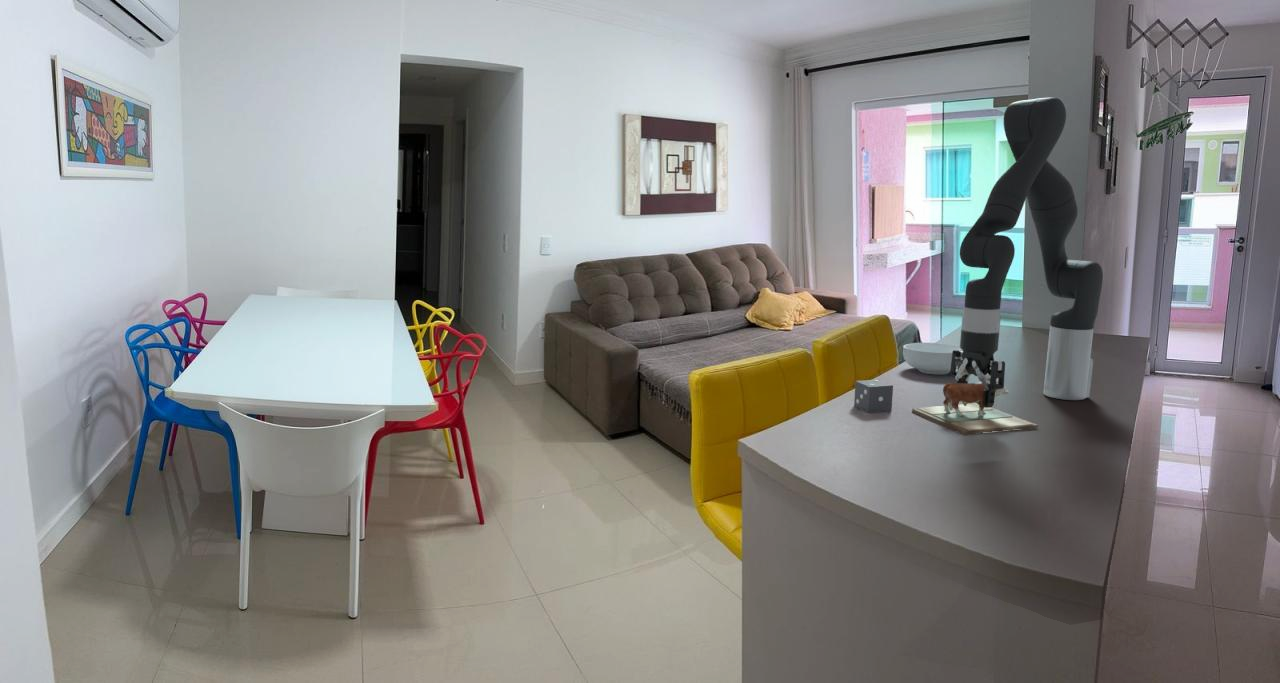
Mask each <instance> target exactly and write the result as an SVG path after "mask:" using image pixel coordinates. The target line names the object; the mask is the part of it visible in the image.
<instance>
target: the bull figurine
mask: <svg viewBox="0 0 1280 683" xmlns="http://www.w3.org/2000/svg"><path fill="white" fill-rule="evenodd" d="M997 383H998V379H996V384H997ZM988 384H990V382H989V381H988ZM983 390H985V389H984V387H983V384H982V382H981V381H979V382H974V383H972V382H971V383H970V382H968V383H957V382H947V383H946V384H945V385H943V388H942V391H943V392H942V393H943V395H944V398H945V399H944V400H943V406H944V408H945V409H944V411H946V413H950V411H949V409H950V410H951V411H952V409H953V408H954V409H955V411H956V415H959V416H960V417H963V414H962V413H961V412H960V410H959V407H958V405H960V402H961V403H962V404H963V405H964V406H967V404H973V403H977V404H978V405H979V411H978V415H979V416H980V417H983V414H986V413H985V411H984V407H983V406H982V402H983ZM1008 394H1009V390H1008V389H1007V387H1006V385H1005V384H1004V388H1003V389H997V390H996V391H995V397H999V396H1001V395H1006V396H1007V395H1008ZM948 407H949V408H948Z"/></svg>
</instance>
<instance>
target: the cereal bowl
mask: <svg viewBox="0 0 1280 683" xmlns="http://www.w3.org/2000/svg"><path fill="white" fill-rule="evenodd" d="M953 350H962V349H961V348H960V345H958V344H957V345H956V344H952V343H944V342H943V343H942V342H941V343H940V342H912V343H906V344H904V345H903V346H902V355H903V358H904V361H905V362H906V364H908V366H910V367H912V368H914V369H917V370H918V371H919V372H920V373H922V374H928V375H937V376H939V375H948V374H950V370H951V361H952V352H953ZM956 370H958V366H956Z"/></svg>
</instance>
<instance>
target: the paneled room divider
mask: <svg viewBox="0 0 1280 683" xmlns="http://www.w3.org/2000/svg"><path fill="white" fill-rule="evenodd" d="M958 407H959V410H960V412H961V413H962V414H963V417H960V416H959V415H956V411H955V409H954V408H953V409H952V411H951V410H950V409H949V411H950V413H946V411H944V409H945V408H944V405H936V406H934V405H933V406H924V407H923V406H922V407H916V408H912V409H911V412H912V413H913V414H916V415H918V416H920V417H922V418H924V419H927V420H929V421H931V422H933V423H936V424H938V425H941V426H943V427H944V428H946V429H949V430H952V431H954V432H957V433H959V434H961V435H963V434H964V435H963V436H970V435H969V434H973V435H977V434H976V433H983V432H992V431H1003V430H1013V429H1028V430H1032V429H1031V428H1039V424H1037V423H1034V422H1031V421H1028V420H1025V419H1023V418H1020V417H1017V416H1015V415H1012V414H1010V413H1006V412H1004V411H1001V410H999V409H996V408H994V407H988V408H985V407H984V411H985V413H986V414H983V417H980V416H979V415H978V411H979V405H978V404H977V403H968V404H967V406H964V405H963V403H962V404H960V403H959V404H958ZM948 408H949V407H948Z"/></svg>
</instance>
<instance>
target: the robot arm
mask: <svg viewBox="0 0 1280 683" xmlns="http://www.w3.org/2000/svg"><path fill="white" fill-rule="evenodd" d="M1066 121H1067V110H1066V106H1065V104H1064V102H1063V101H1062V100H1061V99H1060V98H1058V97H1053V96H1051V97H1049V96H1048V97H1040V98H1033V99H1024V100H1018V101H1014V102H1012V103H1010V104H1008V106H1007V107H1006V109H1005V110H1004V114H1003V129H1004V133H1005V137H1006V140H1007V143H1008V146H1009V148H1010V150H1011V153H1012V155H1013V157H1014V161H1015V162H1014V163H1013V164H1012V165H1011V166H1010V167H1009V168H1008V169H1007V170H1006V171H1005V172H1004V173H1003V174H1002V175H1001V176H1000V177H999V178H998V180H997V181H996V182H995V184H994V186H993V187H992V188H991V191H990V193H989V196H988V197H987V200H986V204H985V206H984V209H983V211H982V213H981V214H980V216H979V217H978V218H977V220H976V221H975V223H974V224H972V226H971V228H970V229H969V231H968V232H967V233H966V235H965V236H964V237H963V240H962V241H961V244H960V247H959V258H960V261H961V262H962V264H963V265H965V266H966V267H969V268H978V269H979V268H980V269H988V271H987V272H986V274H985V276H984V277H981V278H976V279H970V280H969V281H968V282H967V284H966V286H965V295H964V305H963V306H964V307H963V313H962V317H961V329H960V341H959V346H960V348H961V349H962V350H953V352H952V361H951V370H950V372H949V376H950V377H954V378H955V381H956V383H969V381H968V379H969V378H970V376H971V375H973V376H974V377H977V378H978V381H979V382H982V384H983V387H984V389H985V390H983V402H982V406H983V407H985V408H988V407H991V408H993V406H994V404H995V398H996V396H995V391H996V390H997V389H1003V388H1004V385H1005V376H1006V375H1005V372H1006V371H1005V370H1006V362H1005V361H1004V360H996V359H995V358H994V356H995V355H994V354H995V353H996V352H997V351H998V350H999V342H1000V341H999V339H1000V330H1001V302H1002V291H1003V287H1004V284H1005V282H1006V278H1007V276H1008V274H1009V272H1010V269H1011V266H1012V263H1013V261H1014V257H1015V252H1016V251H1015V250H1016V248H1015V244H1014V242H1013V240H1012V239H1011V238H1010V237H1009V236H1007V235H1003V234H998V233H1001V232H1006V231H1009V230H1012V229H1013V228H1015V226H1016V225H1017V223H1018V220H1019V219H1020V215H1021V212H1022V210H1023V208H1024V204H1025V203H1026V199H1027V203H1028V207H1029V210H1030V213H1031V217H1032V220H1033V224H1034V227H1035V230H1036V234H1037V238H1038V241H1039V247H1040V252H1041V256H1042V264H1043V269H1044V278H1045V281H1046V286H1047V288H1048V291H1049V292H1050V293H1051V295H1052V296H1054V297H1057V298H1062V299H1072V300H1073V299H1074V301H1073V302H1074V303H1073V305H1072V307H1071V308H1069V309H1067V310H1064V311H1059V312H1055V313H1053V314H1052V315H1051V317H1050V325H1049V335H1048V344H1047V353H1046V354H1047V355H1046V364H1045V372H1044V374H1045V375H1044V381H1043V382H1044V383H1043V392H1042V393H1043V395H1044V396H1046V397H1049V398H1053V399H1059V400H1065V401H1083V400H1085V399H1087V398H1090V391H1091V384H1092V376H1093V375H1092V374H1093V367H1094V359H1093V358H1091V356H1092V354H1091V353H1092V345H1093V338H1094V327H1095V322H1096V319H1097V316H1098V310H1099V304H1100V301H1101V300H1100V298H1101V293H1102V287H1103V282H1104V280H1103V278H1104V273H1103V268H1102V266H1101V265H1100V264H1099V263H1098V262H1096V261H1091V260H1079V259H1078V260H1077V259H1070V258H1069V257H1068V256H1067V253H1066V247H1065V245H1066V244H1065V243H1066V240H1067V238H1068V235H1069V234H1070V233H1071V230H1072V228H1073V226H1074V224H1075V223H1076V221H1077V217H1078V206H1077V202H1076V197H1075V193H1074V190H1073V186H1072V184H1071V182H1070V181H1069V180H1068V179H1067V177H1065V175H1063V174H1062V173H1061V171H1059V170H1058V169H1057V168H1056V167H1055V166H1054V165H1053V164H1052V163H1051V162H1050V161H1049V160H1048V159H1049V156H1050V155H1051V153H1052V151H1053V149H1054V148H1055V146H1056V144H1057V142H1058V141H1059V139H1060V137H1061V136H1062V133H1063V131H1064V128H1065V125H1066ZM956 366H958V369H956ZM996 380H998V383H997V384H996ZM988 381H989V382H990V384H988Z"/></svg>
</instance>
